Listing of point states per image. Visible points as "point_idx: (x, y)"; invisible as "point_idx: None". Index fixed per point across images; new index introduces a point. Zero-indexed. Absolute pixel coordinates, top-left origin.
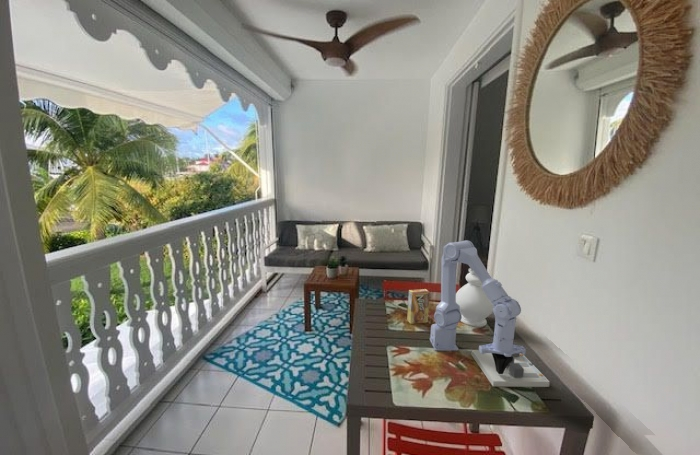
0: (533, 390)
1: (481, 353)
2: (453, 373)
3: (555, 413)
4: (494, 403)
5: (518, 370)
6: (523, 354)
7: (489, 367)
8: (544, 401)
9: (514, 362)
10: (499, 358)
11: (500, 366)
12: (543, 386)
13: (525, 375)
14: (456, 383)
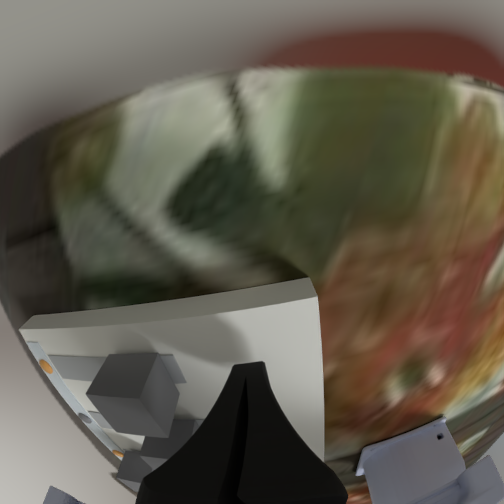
0: (80, 285)
1: (490, 459)
2: (461, 322)
3: (33, 137)
4: (352, 115)
5: (119, 389)
6: (58, 490)
7: (289, 404)
8: (49, 211)
9: None
10: (321, 498)
11: (268, 413)
12: (46, 315)
13: (98, 367)
14: (480, 255)
